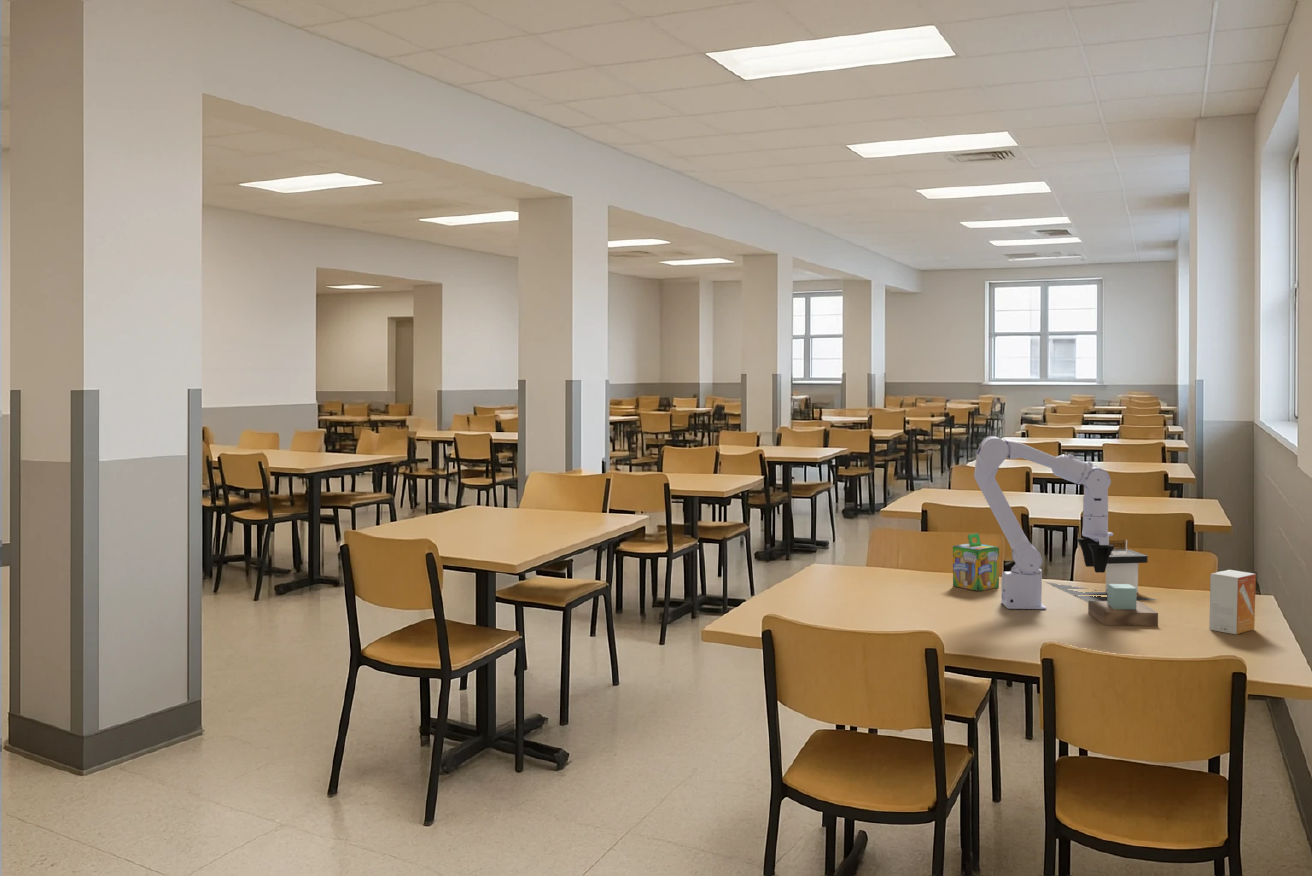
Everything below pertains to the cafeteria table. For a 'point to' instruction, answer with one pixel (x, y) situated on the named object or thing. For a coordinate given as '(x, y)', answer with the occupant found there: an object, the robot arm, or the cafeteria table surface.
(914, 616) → the cafeteria table surface
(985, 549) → the chalk box
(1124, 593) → the teal cube
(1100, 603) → the walnut base
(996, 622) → the cafeteria table surface
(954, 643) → the cafeteria table surface
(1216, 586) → the small box
